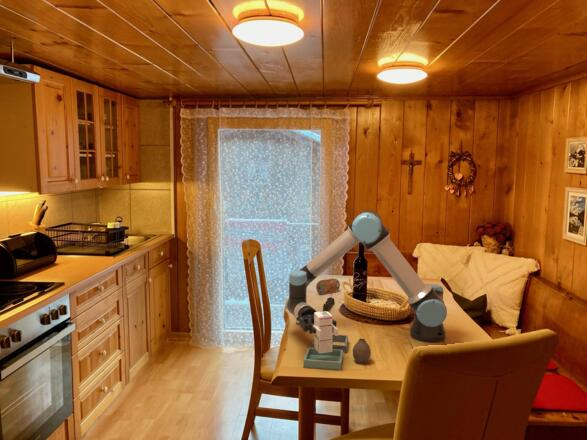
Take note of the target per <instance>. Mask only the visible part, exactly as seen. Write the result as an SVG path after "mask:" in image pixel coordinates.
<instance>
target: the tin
mask: <svg viewBox="0 0 587 440" xmlns="http://www.w3.org/2000/svg"><path fill="white" fill-rule="evenodd" d="M340 287H341V283H340V281H339V280H338V279H336V278H333V277H331V278H326V279H321V280H319V281H318V282H317V283H316V286H315V289H316V292H317V294H320V295H322V296H325V295H326V296H327V295H329V294H331V295H332V294H335V293H337V292H338V291H339V290H340Z"/></svg>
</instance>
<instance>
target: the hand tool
mask: <svg viewBox="0 0 587 440" xmlns="http://www.w3.org/2000/svg"><path fill="white" fill-rule="evenodd" d="M334 304H335V298H334V297H327V299H326V301H325V303H324V304H323V305H322V311H328V312H329V310H330V309H331V308H332V306H333V305H334Z"/></svg>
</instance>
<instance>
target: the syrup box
mask: <svg viewBox="0 0 587 440" xmlns="http://www.w3.org/2000/svg"><path fill="white" fill-rule="evenodd" d="M332 319H333V315H332V314H331V313H330V312H329V311H323V310H322V311H316V312H314V324H313V325H315V326H316V327H318V328H319V329H320V330H321V331H322V333H321V338H319V337H318V336H317V335H315V334H313V339H314V348H315V349H316V351H317V352H318V353H328V352H332V344H333V342H332V334H333V333H332Z"/></svg>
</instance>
